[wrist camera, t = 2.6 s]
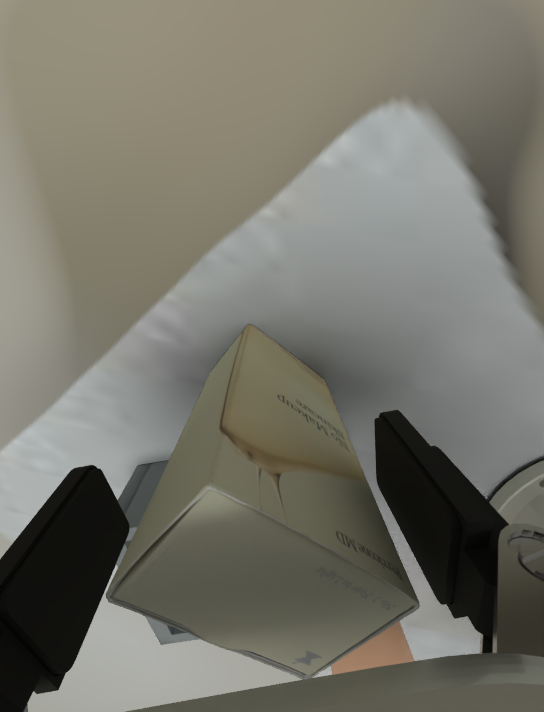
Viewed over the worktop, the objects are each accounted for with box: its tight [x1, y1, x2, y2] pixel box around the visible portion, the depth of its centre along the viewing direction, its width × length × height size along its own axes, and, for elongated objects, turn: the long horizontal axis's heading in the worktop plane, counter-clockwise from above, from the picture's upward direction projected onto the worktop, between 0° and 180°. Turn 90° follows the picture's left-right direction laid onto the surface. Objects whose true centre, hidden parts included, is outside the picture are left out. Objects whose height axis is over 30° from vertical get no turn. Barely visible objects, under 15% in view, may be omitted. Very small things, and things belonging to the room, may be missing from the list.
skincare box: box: [106, 324, 419, 680], centre depth 12 cm, size 6×4×12 cm
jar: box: [331, 621, 414, 675], centre depth 22 cm, size 6×6×8 cm
